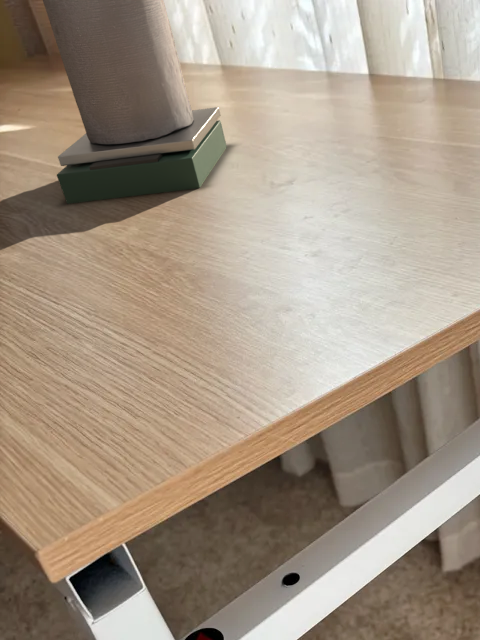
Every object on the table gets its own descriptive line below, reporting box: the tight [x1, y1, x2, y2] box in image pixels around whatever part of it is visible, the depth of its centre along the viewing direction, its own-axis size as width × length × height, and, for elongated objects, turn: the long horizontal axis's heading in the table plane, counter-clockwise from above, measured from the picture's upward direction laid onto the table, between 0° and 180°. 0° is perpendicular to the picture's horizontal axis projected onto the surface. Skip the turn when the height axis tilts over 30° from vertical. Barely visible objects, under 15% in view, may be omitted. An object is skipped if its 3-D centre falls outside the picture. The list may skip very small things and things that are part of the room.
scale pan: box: [57, 106, 222, 167], centre depth 75 cm, size 12×12×1 cm
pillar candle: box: [42, 0, 193, 144], centre depth 69 cm, size 10×10×15 cm
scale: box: [56, 119, 228, 205], centre depth 75 cm, size 12×13×3 cm
